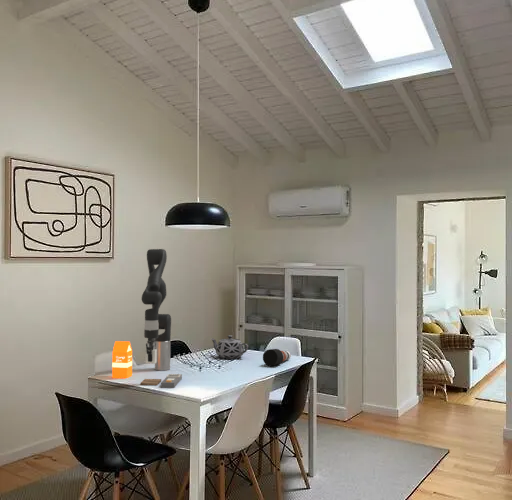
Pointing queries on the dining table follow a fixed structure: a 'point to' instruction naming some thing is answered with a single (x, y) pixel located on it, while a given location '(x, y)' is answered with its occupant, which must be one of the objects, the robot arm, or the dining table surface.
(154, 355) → the plug
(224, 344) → the teapot
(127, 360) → the orange juice
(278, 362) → the dark cylindrical piece
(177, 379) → the grey panel with rod
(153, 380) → the walnut board
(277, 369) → the dining table surface
